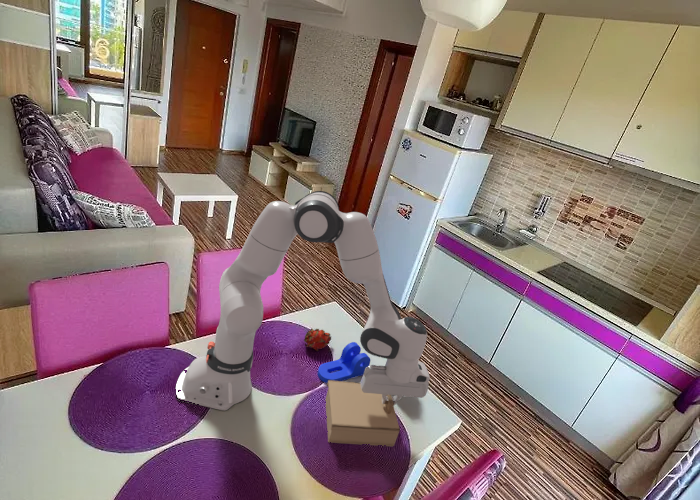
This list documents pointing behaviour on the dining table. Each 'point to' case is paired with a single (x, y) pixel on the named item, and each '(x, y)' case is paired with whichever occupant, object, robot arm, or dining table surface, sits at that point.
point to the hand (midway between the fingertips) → (388, 402)
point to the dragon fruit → (317, 339)
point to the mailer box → (356, 433)
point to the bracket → (345, 365)
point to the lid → (360, 409)
